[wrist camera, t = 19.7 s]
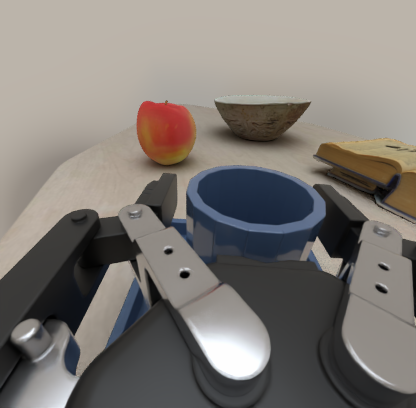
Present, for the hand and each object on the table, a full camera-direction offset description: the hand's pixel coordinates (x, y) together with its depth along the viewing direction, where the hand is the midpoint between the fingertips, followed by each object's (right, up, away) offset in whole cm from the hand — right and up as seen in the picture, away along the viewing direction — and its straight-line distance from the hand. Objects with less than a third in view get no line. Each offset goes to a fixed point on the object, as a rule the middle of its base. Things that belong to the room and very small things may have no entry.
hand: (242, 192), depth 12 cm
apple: (-9, +7, +25) cm, 27 cm away
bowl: (+11, +18, +45) cm, 50 cm away
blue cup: (0, -7, +2) cm, 7 cm away
